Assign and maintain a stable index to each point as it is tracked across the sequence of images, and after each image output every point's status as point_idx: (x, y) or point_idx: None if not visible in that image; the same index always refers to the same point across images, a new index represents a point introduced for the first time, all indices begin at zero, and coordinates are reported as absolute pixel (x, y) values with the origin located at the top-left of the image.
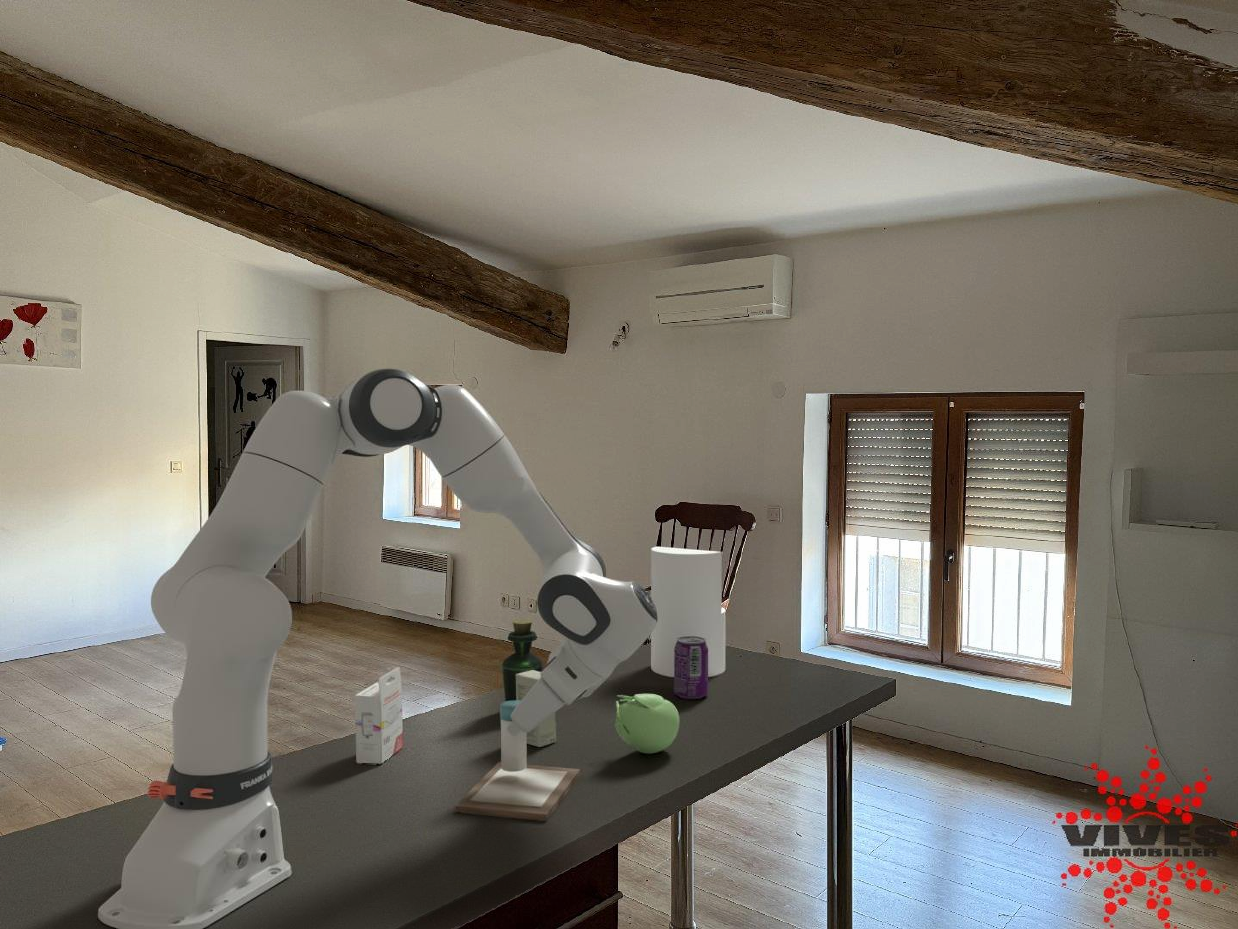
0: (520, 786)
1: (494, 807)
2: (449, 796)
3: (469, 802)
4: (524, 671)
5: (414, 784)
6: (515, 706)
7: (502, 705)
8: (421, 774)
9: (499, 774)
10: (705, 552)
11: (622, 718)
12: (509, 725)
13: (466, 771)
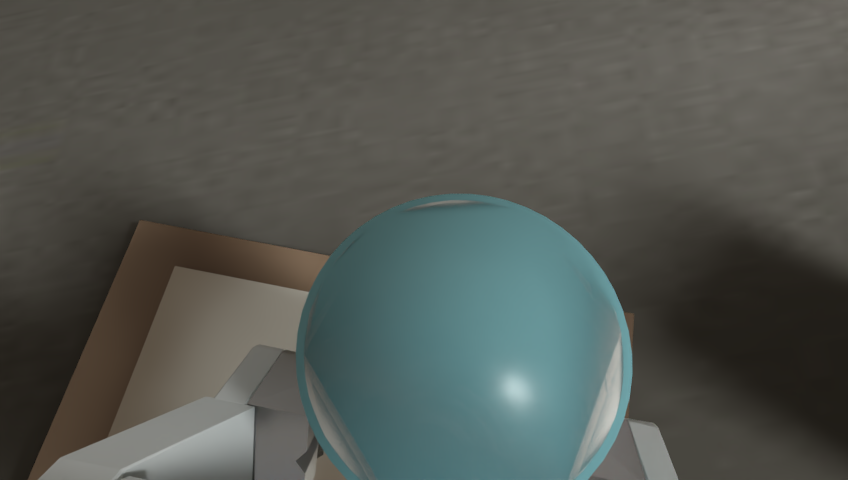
0: None
1: (87, 382)
2: (312, 182)
3: (165, 267)
4: None
5: (426, 52)
6: (383, 379)
7: (420, 221)
8: (521, 54)
9: None
10: None
11: None
12: (244, 362)
13: (571, 196)
